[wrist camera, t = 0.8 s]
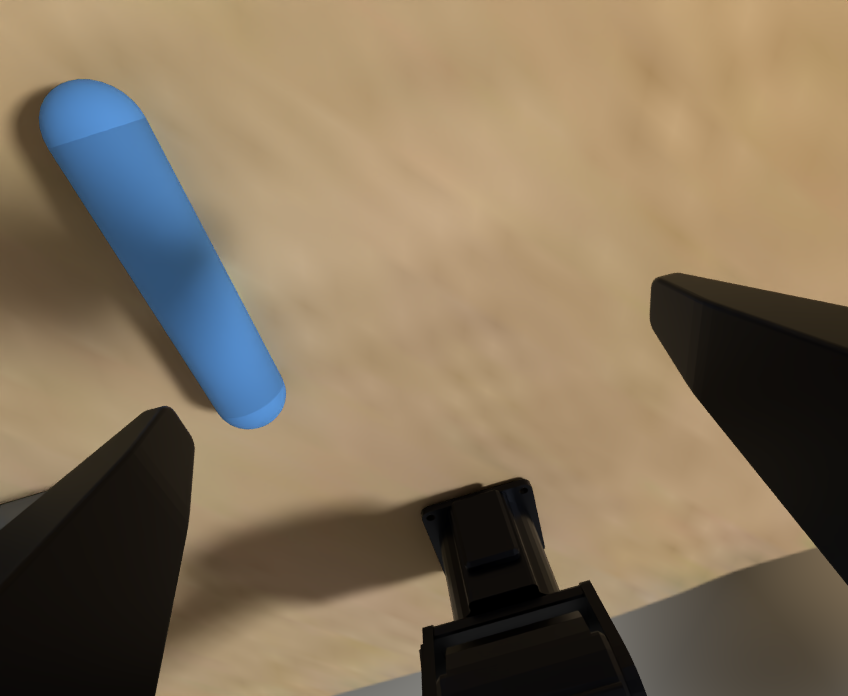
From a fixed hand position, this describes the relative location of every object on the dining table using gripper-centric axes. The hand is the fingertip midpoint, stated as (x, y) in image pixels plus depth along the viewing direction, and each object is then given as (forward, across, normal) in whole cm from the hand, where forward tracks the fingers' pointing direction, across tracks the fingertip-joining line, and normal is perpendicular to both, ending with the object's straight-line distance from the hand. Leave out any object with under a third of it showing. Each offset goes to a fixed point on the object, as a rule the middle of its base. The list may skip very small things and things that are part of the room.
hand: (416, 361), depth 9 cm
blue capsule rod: (+12, +8, +1) cm, 15 cm away
